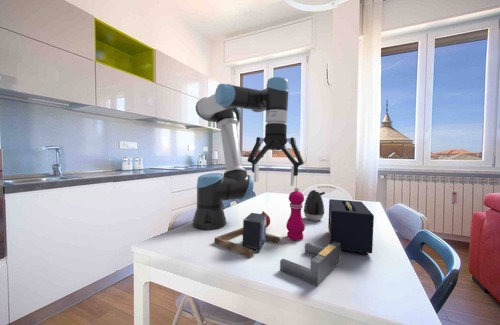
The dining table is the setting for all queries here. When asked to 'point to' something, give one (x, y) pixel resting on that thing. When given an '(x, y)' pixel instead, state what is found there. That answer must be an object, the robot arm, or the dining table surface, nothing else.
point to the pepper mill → (295, 216)
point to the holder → (237, 248)
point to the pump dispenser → (314, 206)
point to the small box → (254, 231)
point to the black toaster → (351, 225)
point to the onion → (266, 219)
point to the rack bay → (314, 263)
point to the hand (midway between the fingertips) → (273, 183)
